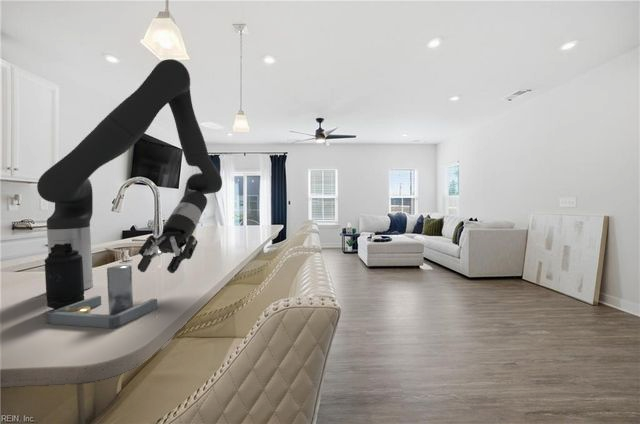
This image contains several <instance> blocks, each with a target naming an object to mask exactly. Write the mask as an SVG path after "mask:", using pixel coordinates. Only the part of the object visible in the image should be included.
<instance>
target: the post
mask: <svg viewBox="0 0 640 424" xmlns="http://www.w3.org/2000/svg"><path fill="white" fill-rule="evenodd" d="M106 276H107V279H106V280H107V299H108V301H107V302H108V315H116V314H119V313H121V312H123V311H125V310H128V309H130V308H132V307H134V295H133V272H132V264H122V265H121V264H120V265H113V266H108V267H107V268H106Z"/></svg>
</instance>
